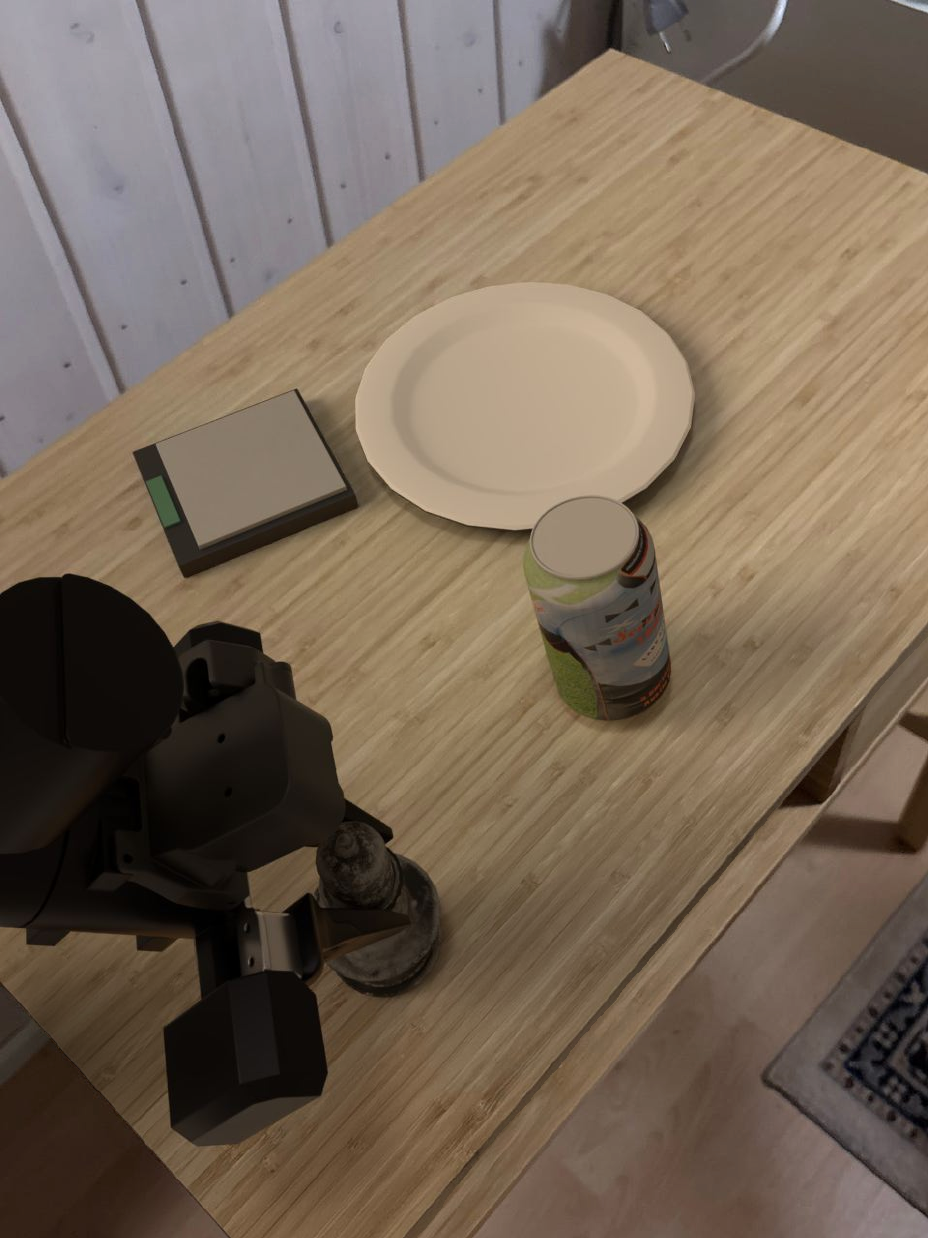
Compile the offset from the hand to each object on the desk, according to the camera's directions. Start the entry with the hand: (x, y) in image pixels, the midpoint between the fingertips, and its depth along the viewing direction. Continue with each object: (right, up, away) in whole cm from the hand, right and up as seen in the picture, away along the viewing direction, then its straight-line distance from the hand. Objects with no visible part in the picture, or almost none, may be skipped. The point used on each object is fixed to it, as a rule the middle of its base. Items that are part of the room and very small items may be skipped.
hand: (396, 881), depth 48 cm
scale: (-10, +19, +22) cm, 31 cm away
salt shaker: (-1, -4, +6) cm, 7 cm away
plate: (+7, +24, +24) cm, 34 cm away
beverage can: (+10, +8, +13) cm, 18 cm away
